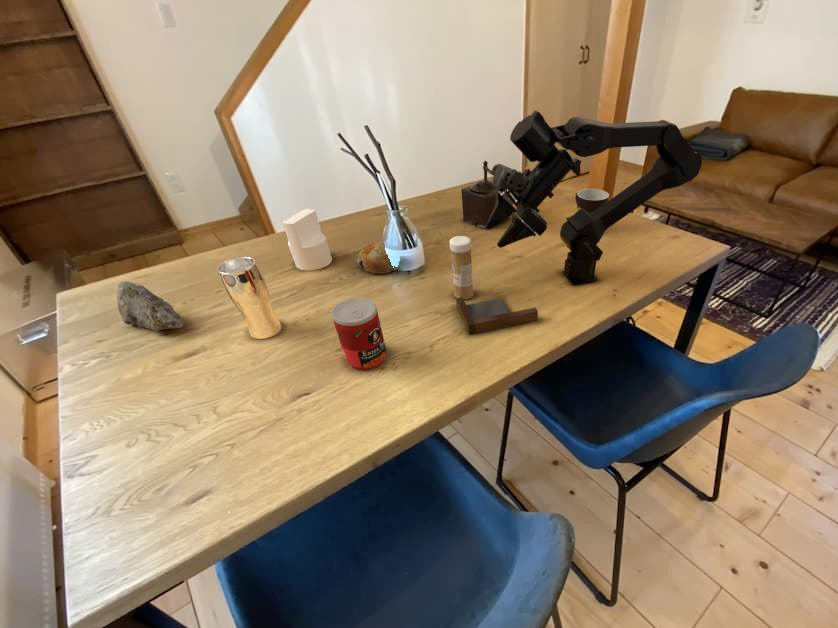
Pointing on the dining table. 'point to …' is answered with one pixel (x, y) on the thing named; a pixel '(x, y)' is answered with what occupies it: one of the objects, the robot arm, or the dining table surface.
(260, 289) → the beer glass
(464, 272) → the sprinkles bottle
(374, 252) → the bread roll
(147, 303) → the mineral rock
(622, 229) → the dining table surface
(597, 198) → the coffee mug
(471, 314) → the corner guide
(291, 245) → the base with upright slab
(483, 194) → the brown coffee grinder
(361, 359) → the canned food
